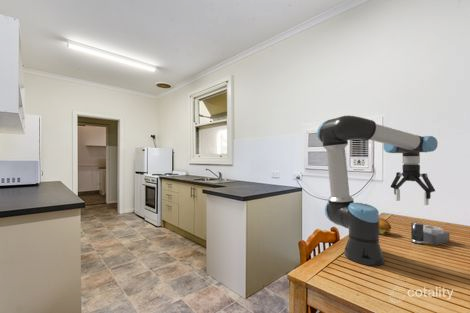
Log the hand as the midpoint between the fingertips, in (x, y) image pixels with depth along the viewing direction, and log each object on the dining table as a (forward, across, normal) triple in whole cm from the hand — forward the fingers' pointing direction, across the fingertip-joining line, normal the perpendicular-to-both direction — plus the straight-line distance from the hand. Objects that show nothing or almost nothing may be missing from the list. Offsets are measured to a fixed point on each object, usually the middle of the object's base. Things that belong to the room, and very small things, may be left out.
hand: (411, 202), depth 121 cm
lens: (+21, -3, +2) cm, 21 cm away
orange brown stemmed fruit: (+21, +15, +3) cm, 26 cm away
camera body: (+21, -5, -10) cm, 24 cm away
